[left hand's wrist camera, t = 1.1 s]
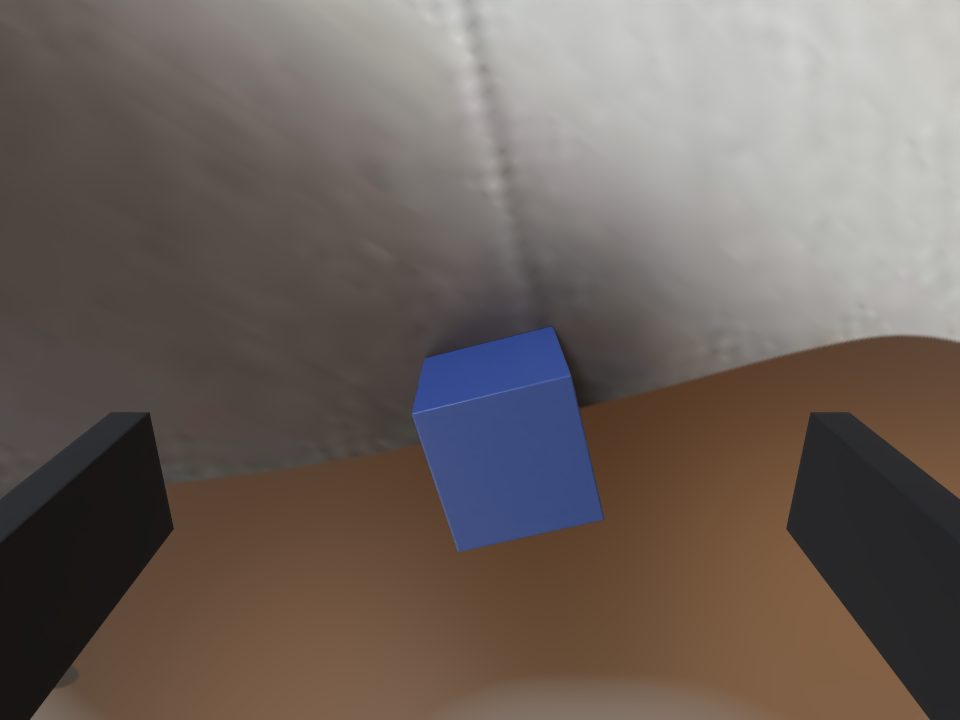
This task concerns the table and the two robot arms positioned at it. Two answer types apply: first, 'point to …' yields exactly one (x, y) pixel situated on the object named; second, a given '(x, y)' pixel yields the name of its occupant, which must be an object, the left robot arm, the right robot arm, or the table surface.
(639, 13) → the table surface
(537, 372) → the cube
